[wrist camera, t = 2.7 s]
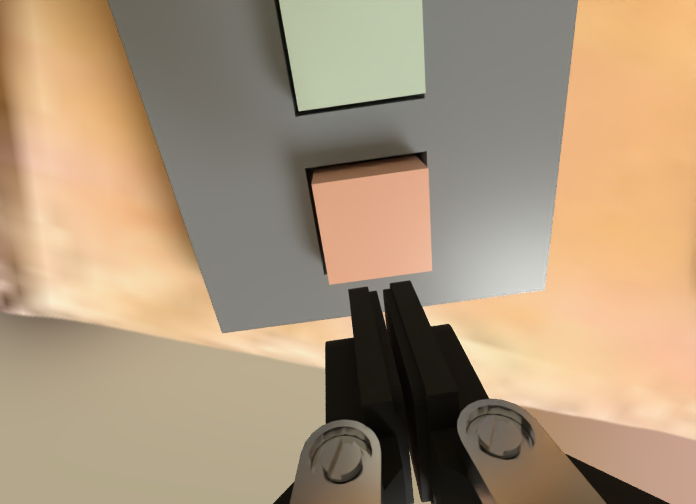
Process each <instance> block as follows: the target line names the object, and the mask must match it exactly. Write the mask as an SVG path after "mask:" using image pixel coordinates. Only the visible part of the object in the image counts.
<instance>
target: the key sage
mask: <svg viewBox="0 0 696 504" xmlns="http://www.w3.org/2000/svg"><path fill="white" fill-rule="evenodd" d="M279 3H280V9H281V15H282V20H283V26H284V31H285V37H286V43H287V48H288V54H289V60H290V65H291V71H292V77H293V82H294V88H295V94H296V99H297V105H298V111H304V110H311V109H318V108H325V107H332V106H339V105H346V104H353V103H360V102H367V101H374V100H381V99H388V98H395V97H402V96H409V95H416V94H423V93H426V89H425V63H424V36H423V9H422V0H279Z"/></svg>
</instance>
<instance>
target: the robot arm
mask: <svg viewBox="0 0 696 504" xmlns="http://www.w3.org/2000/svg"><path fill="white" fill-rule="evenodd" d="M348 293H349V301H350V310H351V318H352V327H353V336H354V338H348V339H341V340H334V341H327V342H326V344H325V372H326V373H325V374H326V424H325V425H323V426H321V427H320V428H319V429H317V430H316V431H315V432H313V433H312V434H311V436H310V437H309V438H308V440H307V441H306V442H305V444H304V447H303V450H302V452H301V455H300V460H299V464H298V469H297V473H296V478H295V481H294V483H293V484H292V485H291V486H290V487H289V488H288V489H287V490H286V491H285V492H284V493H283V494H282V495H281V496H280V497H279V498H278V499H277V500H276V501H275V502H274V503H273V504H413V503H414V498H413V488H412V477H411V466H410V455H411V460H412V464H413V468H414V473H415V477H416V481H417V486H418V490H419V494H420V498H421V501H422V502H427V501H431V504H669V503H667V502H665V501H663V500H661V499H659V498H657V497H655V496H653V495H651V494H648V493H646V492H644V491H642V490H640V489H638V488H636V487H634V486H632V485H629V484H628V483H626V482H623V481H621V480H619V479H617V478H615V477H613V476H611V475H609V474H607V473H605V472H603V471H600V470H598V469H596V468H594V467H592V466H590V465H588V464H586V463H584V462H582V461H580V460H577V459H575V458H573V457H571V456H569V455H567V454H565V453H564V452H563V451H562V450H561V449H560V448H559V446H558V445H557V444H556V443H555V441H554V440H553V439H552V438H551V437H550V436H549V434H548V433H547V432H546V431H545V430H544V428H543V427H542V426H541V425H540V424H539V422H538V421H537V420H536V419H535V418H534V417H533V416H532V415H531V414H530V413H528V412H527V411H526V410H524V409H523V408H521V407H519V406H518V405H516V404H513V403H510V402H507V401H504V400H498V399H489V397H488V396H487V394H486V392H485V390H484V388H483V386H482V384H481V382H480V380H479V378H478V376H477V374H476V373H475V371H474V369H473V367H472V365H471V363H470V361H469V359H468V357H467V355H466V353H465V352H464V350H463V348H462V346H461V344H460V342H459V340H458V338H457V336H456V334H455V332H454V331H453V329H452V327H451V326H450V325H449V324H445V325H438V326H430V324H429V322H428V319H427V317H426V315H425V312H424V310H423V308H422V306H421V303H420V301H419V299H418V296H417V294H416V292H415V290H414V287H413V285H412V283H411V281H410V280H408V281H401V282H394V283H390V289H383V299H384V308H385V317H386V325H385V321H384V317H383V313H382V309H381V305H380V301H379V297H378V294H377V290H376V291H369V289H368V286H367V287H360V288H353V289H348ZM386 327H387V329H386ZM409 451H410V455H409Z"/></svg>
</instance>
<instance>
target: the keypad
mask: <svg viewBox="0 0 696 504" xmlns="http://www.w3.org/2000/svg"><path fill="white" fill-rule="evenodd" d="M108 3H109V6H110V9H111V12H112V14H113V17H114V20H115V23H116V26H117V29H118V32H119V35H120V38H121V41H122V44H123V46H124V49H125V52H126V55H127V58H128V61H129V64H130V67H131V70H132V73H133V76H134V78H135V81H136V84H137V87H138V90H139V93H140V96H141V99H142V102H143V105H144V107H145V110H146V113H147V116H148V119H149V122H150V125H151V128H152V131H153V134H154V137H155V139H156V142H157V145H158V148H159V151H160V154H161V157H162V160H163V163H164V166H165V168H166V171H167V174H168V177H169V180H170V183H171V186H172V189H173V192H174V195H175V198H176V200H177V203H178V206H179V209H180V212H181V215H182V218H183V221H184V224H185V227H186V230H187V232H188V235H189V238H190V241H191V244H192V247H193V250H194V253H195V256H196V259H197V261H198V264H199V267H200V270H201V273H202V276H203V279H204V282H205V285H206V288H207V291H208V293H209V296H210V299H211V302H212V305H213V308H214V311H215V314H216V317H217V320H218V322H219V325H220V328H221V331H222V333H228V332H235V331H243V330H250V329H258V328H265V327H273V326H280V325H288V324H295V323H303V322H310V321H317V320H325V319H332V318H340V317H347V316H351V310H350V301H349V293H348V289H353V288H360V287H367V286H368V289H369V291H376V290H377V294H378V297H379V301H380V305H381V309H382V312H385V308H384V299H383V289H390V283H394V282H401V281H408V280H410V281H411V283H412V285H413V287H414V290H415V292H416V294H417V296H418V299H419V301H420V303H421V306H430V305H437V304H445V303H452V302H460V301H467V300H475V299H482V298H490V297H497V296H504V295H512V294H519V293H527V292H534V291H542V290H545V283H546V275H547V266H548V257H549V249H550V240H551V231H552V222H553V214H554V205H555V196H556V187H557V179H558V170H559V161H560V152H561V144H562V135H563V126H564V117H565V109H566V100H567V91H568V82H569V74H570V65H571V56H572V48H573V39H574V30H575V21H576V13H577V4H578V0H422V9H423V36H424V63H425V89H426V93H423V94H416V95H409V96H402V97H395V98H388V99H381V100H374V101H367V102H360V103H353V104H346V105H339V106H332V107H325V108H318V109H311V110H304V111H298V105H297V99H296V94H295V88H294V82H293V77H292V71H291V65H290V60H289V54H288V48H287V43H286V37H285V31H284V26H283V20H282V15H281V9H280V3H279V0H108ZM409 155H416V156H417V157H418V158H419V159H420V160H421V161H422V162H423V163H424V164H425V165H426V166H427V167H428V170H429V196H430V223H431V250H432V271H428V272H420V273H413V274H406V275H398V276H391V277H383V278H376V279H369V280H361V281H354V282H347V283H339V284H332V285H329V280H328V274H327V269H326V263H325V257H324V252H323V246H322V240H321V235H320V229H319V224H318V218H317V212H316V207H315V201H314V195H313V190H312V179H313V173H314V169H317V168H324V167H331V166H338V165H345V164H353V163H360V162H367V161H374V160H381V159H388V158H395V157H402V156H409Z"/></svg>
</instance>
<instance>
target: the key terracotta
mask: <svg viewBox="0 0 696 504" xmlns="http://www.w3.org/2000/svg"><path fill="white" fill-rule="evenodd" d="M312 190H313V195H314V201H315V207H316V212H317V218H318V224H319V229H320V235H321V240H322V246H323V252H324V257H325V263H326V269H327V274H328V280H329V285H332V284H339V283H347V282H354V281H361V280H369V279H376V278H383V277H391V276H398V275H406V274H413V273H420V272H428V271H432V250H431V223H430V196H429V170H428V167H427V166H426V165H425V164H424V163H423V162H422V161H421V160H420V159H419V158H418V157H417V156H416V155H409V156H402V157H395V158H388V159H381V160H374V161H367V162H360V163H353V164H345V165H338V166H331V167H324V168H317V169H314V173H313V179H312Z"/></svg>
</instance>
